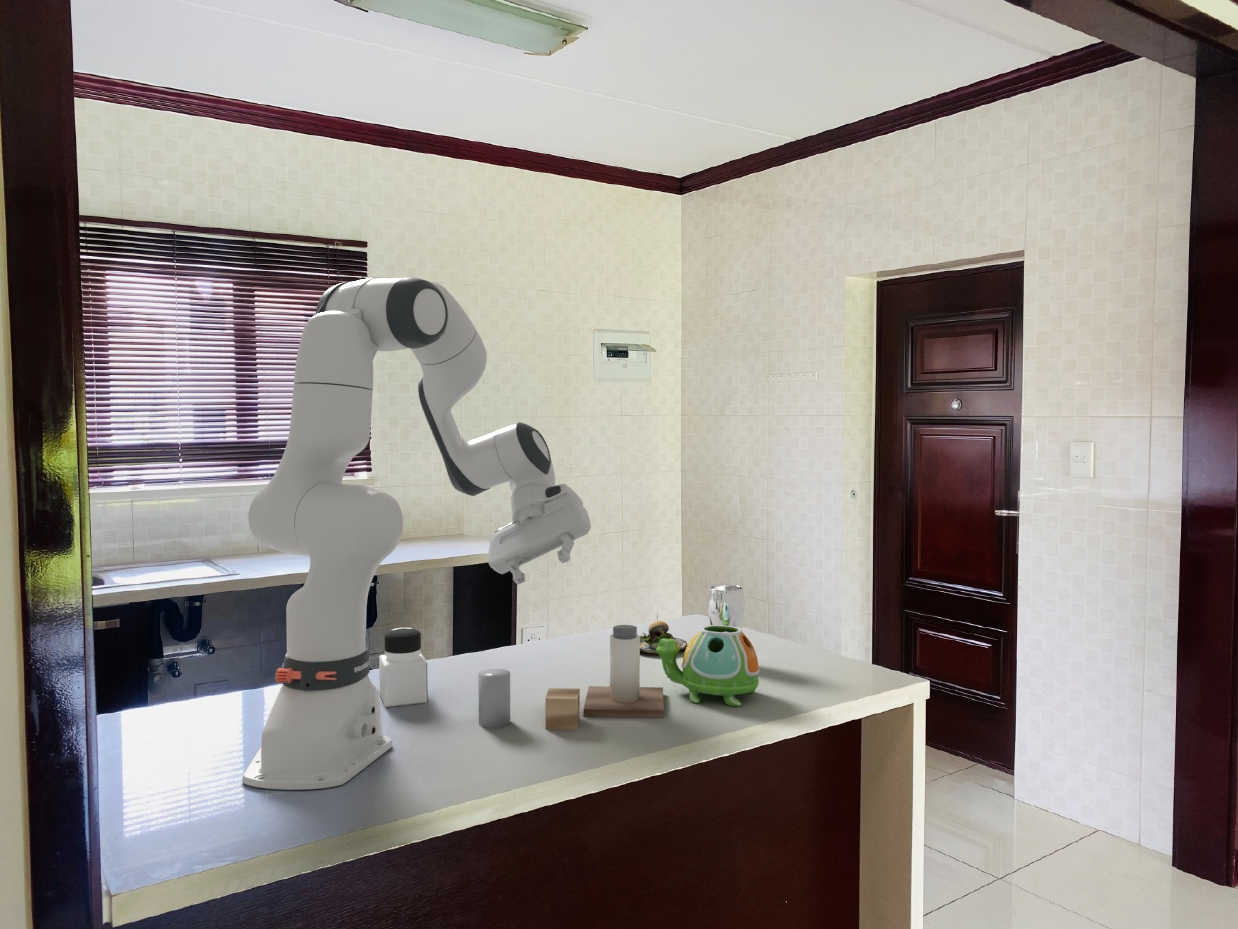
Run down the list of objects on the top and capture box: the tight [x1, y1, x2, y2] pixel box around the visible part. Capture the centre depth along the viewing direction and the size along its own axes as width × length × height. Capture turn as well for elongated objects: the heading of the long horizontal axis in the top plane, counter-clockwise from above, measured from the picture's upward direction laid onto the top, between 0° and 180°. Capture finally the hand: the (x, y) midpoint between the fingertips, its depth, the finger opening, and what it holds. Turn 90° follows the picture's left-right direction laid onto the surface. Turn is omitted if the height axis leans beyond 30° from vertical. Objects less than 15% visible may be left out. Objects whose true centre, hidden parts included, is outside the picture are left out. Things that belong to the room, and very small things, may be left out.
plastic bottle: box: [609, 624, 641, 703], centre depth 152 cm, size 5×5×12 cm
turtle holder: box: [656, 624, 761, 707], centre depth 158 cm, size 12×18×12 cm
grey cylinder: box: [477, 668, 511, 729], centre depth 144 cm, size 5×5×8 cm
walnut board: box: [582, 685, 665, 719], centre depth 153 cm, size 12×13×1 cm
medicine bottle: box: [378, 627, 429, 708], centre depth 155 cm, size 7×7×12 cm
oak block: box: [544, 687, 581, 731], centre depth 144 cm, size 5×5×5 cm
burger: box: [639, 614, 688, 654], centre depth 187 cm, size 12×12×8 cm
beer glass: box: [708, 583, 745, 633], centre depth 178 cm, size 7×7×15 cm
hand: (541, 571), depth 160 cm, fingers open, 8 cm apart
